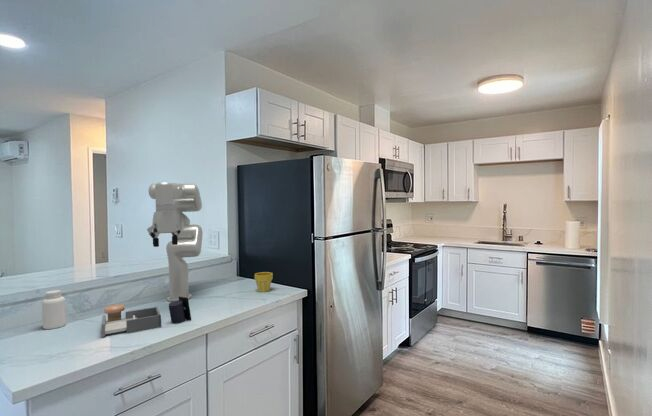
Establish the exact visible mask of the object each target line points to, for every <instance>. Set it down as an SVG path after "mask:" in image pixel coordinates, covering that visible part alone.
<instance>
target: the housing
mask: <svg viewBox="0 0 652 416" xmlns="http://www.w3.org/2000/svg"><path fill="white" fill-rule="evenodd" d="M133 315H135V318H136V317H137V319H132V320H126V325H127V330H126V334H132V333H137V332H144V331H149V330H154V329H159V328H162V314H161V312H160V310H159V308H158V306H155V307H147V308H141V309H134V310H129V311H127V310H126V311H125V319H130V318H133Z"/></svg>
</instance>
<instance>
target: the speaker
mask: <svg viewBox="0 0 652 416" xmlns="http://www.w3.org/2000/svg"><path fill="white" fill-rule="evenodd" d="M189 303H190V302H189V299H188V298H187V297H179V300H178V301H170V302H169V303H168V310H169V316H170V321H171V322H170V323H172V324H181V323H182V322H185V320H187V321H192V314H191V309H190V304H189Z"/></svg>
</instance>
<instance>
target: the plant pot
mask: <svg viewBox="0 0 652 416" xmlns="http://www.w3.org/2000/svg"><path fill="white" fill-rule="evenodd" d="M273 276H274V275H273V272H269V271H262V272H261V271H260V272H256V273H254V281H255V283H256V287H257V291H258V292H260V293H264V292H265V293H266V292H269V291H270V290H271V284H272V280H273Z"/></svg>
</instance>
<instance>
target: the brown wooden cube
mask: <svg viewBox="0 0 652 416" xmlns="http://www.w3.org/2000/svg"><path fill="white" fill-rule="evenodd" d="M118 320H122V311H121V312H117V313H109V314H107V322H112V321H118Z"/></svg>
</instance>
